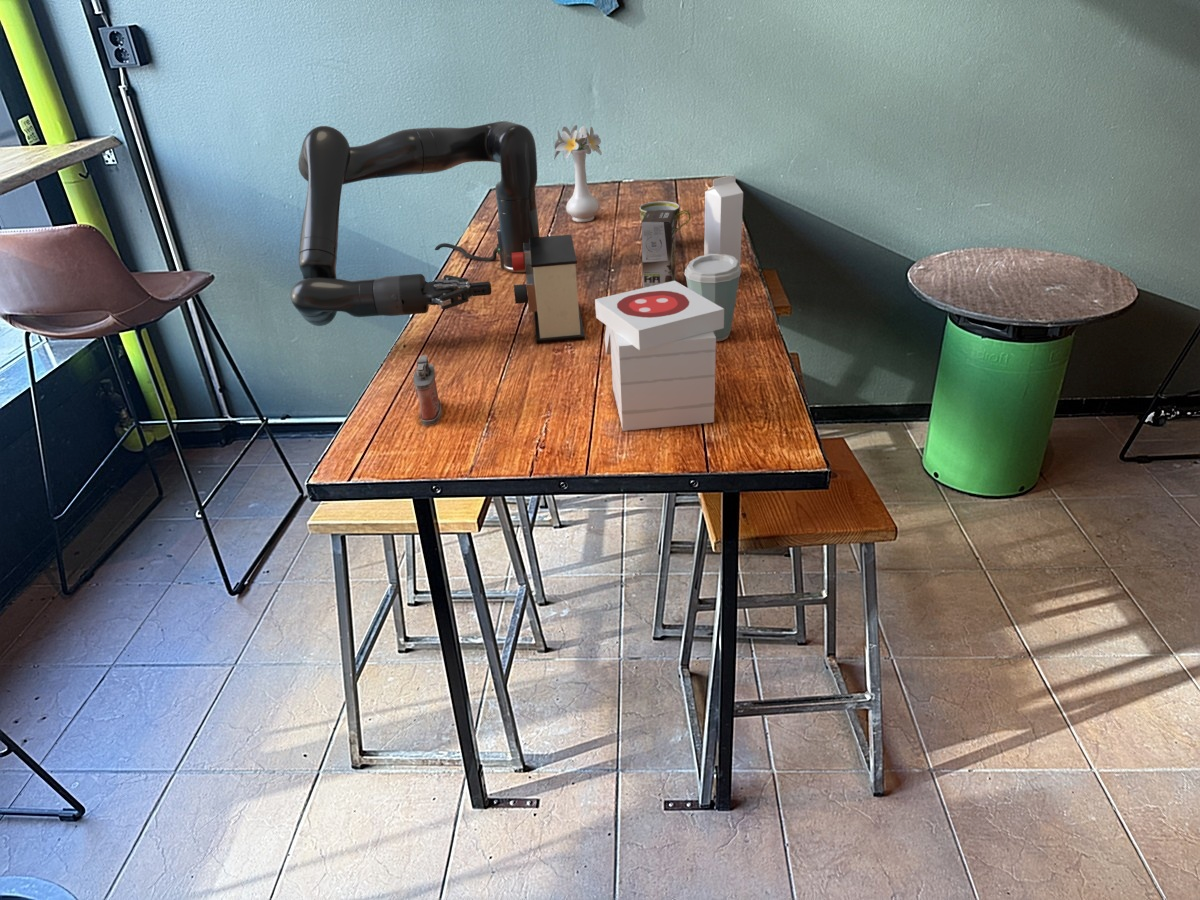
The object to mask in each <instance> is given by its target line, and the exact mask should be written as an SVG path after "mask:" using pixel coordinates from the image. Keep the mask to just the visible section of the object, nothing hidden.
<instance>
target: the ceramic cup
mask: <svg viewBox="0 0 1200 900" xmlns="http://www.w3.org/2000/svg"><path fill="white" fill-rule="evenodd" d="M680 208H681V206H680V204H678V203H677V202H673V201H667V200H661V201H660V200H659V201H658V200H657V201H649V202H645V203H643V204H641V205H640V206H639V216H640V221H641V222H642V220H643V218H644V216H645V214H646V212H647V211H657V210H675V235H676V234H677V232H678V231H679V230H681V228H683V226H685V225H686V224H688V223H690V221H691V217H692V215H691V213H690V211H688V210H685V209H684V210H681V211H680ZM683 214H686V215H688V219H687V220H686V221H685V222H683V223H682V224H681V225H679V227H677V226H678V221H679V218H680V216H681V215H683Z"/></svg>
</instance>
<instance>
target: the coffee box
mask: <svg viewBox="0 0 1200 900" xmlns="http://www.w3.org/2000/svg"><path fill="white" fill-rule="evenodd" d="M641 256H642V257H641V261H642V265H641V266H642V288H645V287H650V286H654V285H658V284H662V283H667V282H671V281H676V234H675V210H657V211H647V212H646V214H645V216H644V218H643V220H642V221H641Z"/></svg>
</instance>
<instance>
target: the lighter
mask: <svg viewBox="0 0 1200 900" xmlns="http://www.w3.org/2000/svg"><path fill="white" fill-rule="evenodd" d="M416 366H417V368H416V370H415V371H414V374H413V380H412V381H413V385H414V389H415V394H416V398H417V399H418V404H419V409H420V412H419V415H420V416H419V417H420V422H421V424H422V425H423V426H433V425H436V424H437V423H438V422H439V420H440V419H441V416H442V404H441V400H440V399H439V394H438V387H437V383H436V369H435V366H434V364H433V363H429V359H428V355H426V354H425V355H420V356H419V358H418V359H416Z"/></svg>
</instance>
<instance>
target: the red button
mask: <svg viewBox="0 0 1200 900" xmlns="http://www.w3.org/2000/svg"><path fill="white" fill-rule="evenodd" d="M512 264H513V271H520V270H525V261H524V252H517V253H512Z"/></svg>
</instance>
